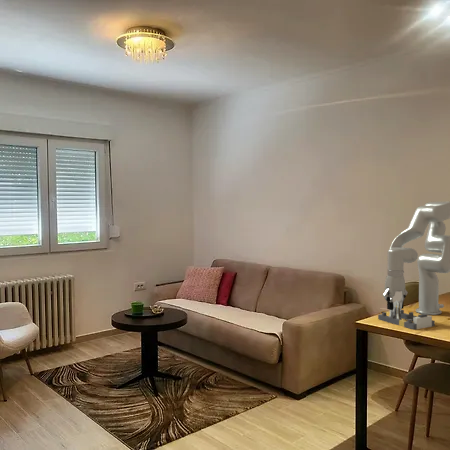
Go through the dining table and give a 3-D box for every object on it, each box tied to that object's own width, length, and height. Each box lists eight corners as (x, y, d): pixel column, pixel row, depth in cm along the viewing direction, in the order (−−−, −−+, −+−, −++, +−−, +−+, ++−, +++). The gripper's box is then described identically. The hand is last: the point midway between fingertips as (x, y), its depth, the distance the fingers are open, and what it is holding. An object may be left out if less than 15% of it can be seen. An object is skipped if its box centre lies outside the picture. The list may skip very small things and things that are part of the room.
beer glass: (388, 317, 231) (388, 288, 230) (402, 318, 228) (402, 289, 228) (387, 320, 224) (387, 291, 224) (402, 321, 222) (402, 291, 221)
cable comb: (398, 316, 233) (398, 304, 233) (434, 326, 214) (434, 313, 213) (378, 319, 227) (378, 307, 227) (413, 329, 207) (413, 316, 207)
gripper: (402, 271, 233) (401, 305, 233) (376, 273, 225) (376, 309, 226) (413, 273, 226) (413, 308, 226) (388, 275, 218) (388, 312, 219)
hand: (395, 308), depth 226 cm, fingers closed on beer glass, 6 cm apart
